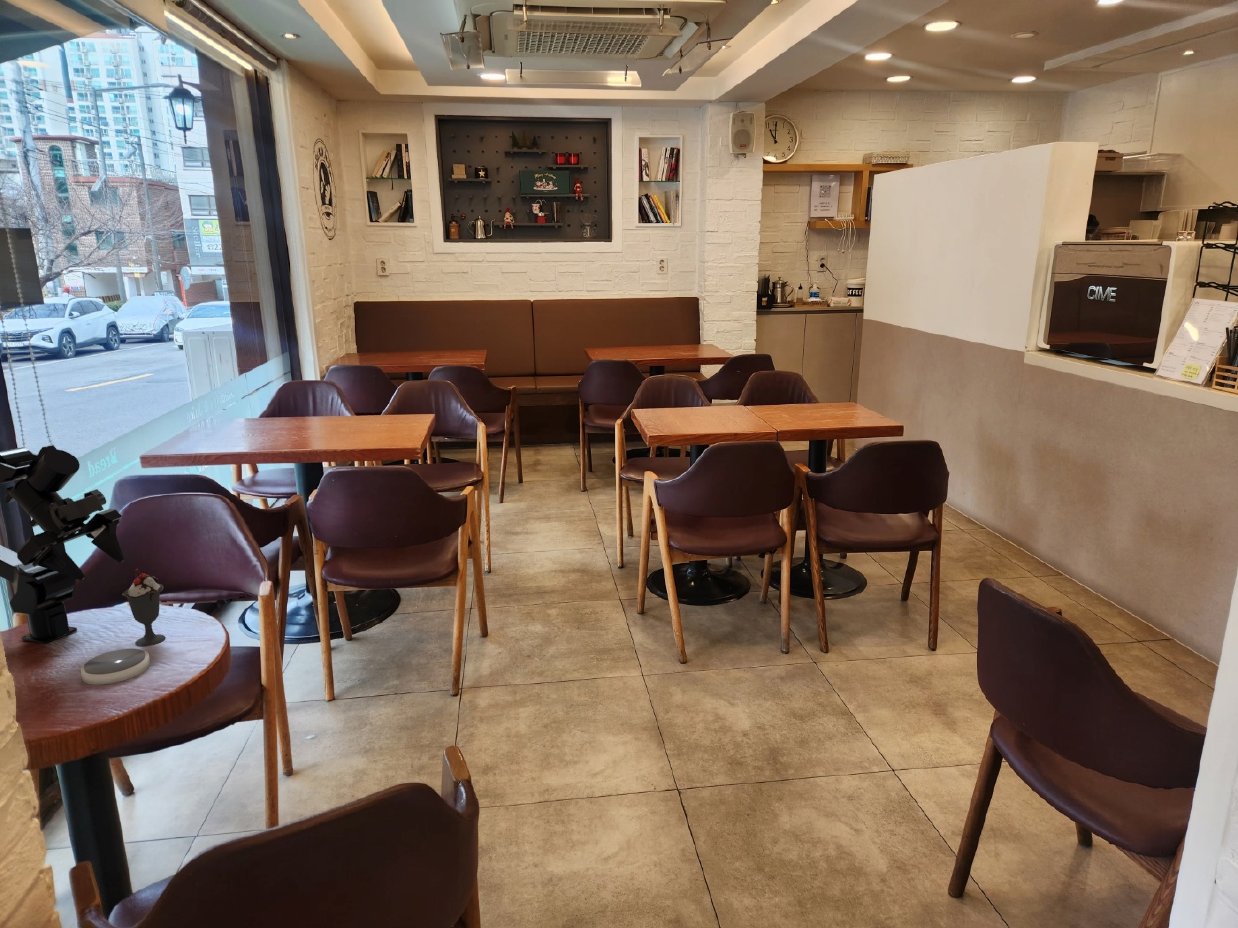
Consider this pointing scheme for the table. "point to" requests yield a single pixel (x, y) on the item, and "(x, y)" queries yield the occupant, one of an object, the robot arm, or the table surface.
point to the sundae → (145, 605)
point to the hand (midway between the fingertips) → (103, 569)
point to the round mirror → (115, 666)
